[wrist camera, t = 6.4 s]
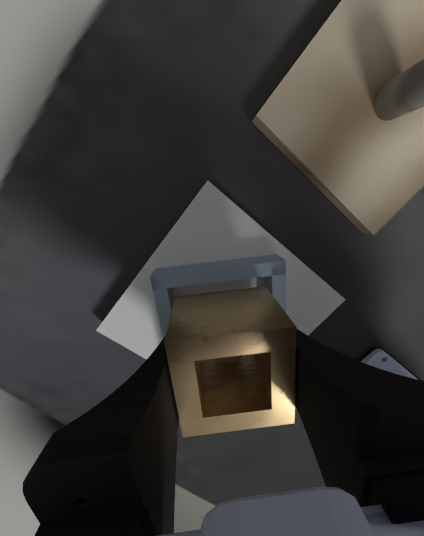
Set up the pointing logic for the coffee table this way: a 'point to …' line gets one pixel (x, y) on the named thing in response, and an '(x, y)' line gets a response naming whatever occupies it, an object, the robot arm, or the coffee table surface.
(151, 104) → the coffee table surface
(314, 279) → the white peg base
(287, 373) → the tan square ring block
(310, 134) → the stand
